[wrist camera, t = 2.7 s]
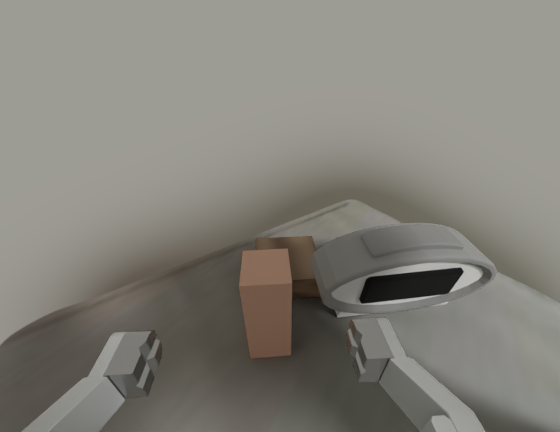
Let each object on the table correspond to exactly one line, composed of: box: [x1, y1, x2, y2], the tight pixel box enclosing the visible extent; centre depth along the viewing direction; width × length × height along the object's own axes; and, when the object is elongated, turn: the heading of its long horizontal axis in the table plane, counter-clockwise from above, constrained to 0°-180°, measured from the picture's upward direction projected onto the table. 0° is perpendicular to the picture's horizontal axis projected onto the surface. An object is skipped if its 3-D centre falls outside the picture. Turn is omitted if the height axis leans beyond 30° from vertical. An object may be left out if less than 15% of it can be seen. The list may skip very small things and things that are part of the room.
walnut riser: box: [256, 236, 320, 298], centre depth 40 cm, size 10×10×4 cm
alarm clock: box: [310, 223, 497, 318], centre depth 33 cm, size 23×6×13 cm, turn 97°
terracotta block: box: [239, 249, 292, 358], centre depth 28 cm, size 5×5×13 cm
